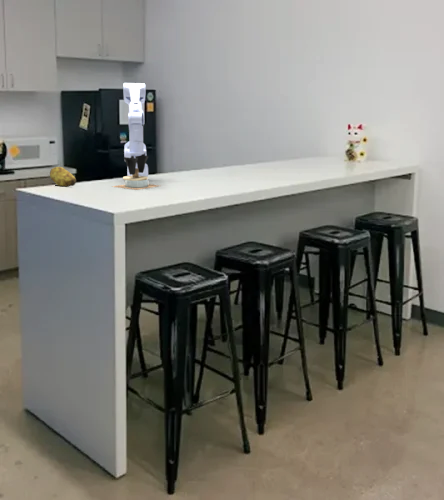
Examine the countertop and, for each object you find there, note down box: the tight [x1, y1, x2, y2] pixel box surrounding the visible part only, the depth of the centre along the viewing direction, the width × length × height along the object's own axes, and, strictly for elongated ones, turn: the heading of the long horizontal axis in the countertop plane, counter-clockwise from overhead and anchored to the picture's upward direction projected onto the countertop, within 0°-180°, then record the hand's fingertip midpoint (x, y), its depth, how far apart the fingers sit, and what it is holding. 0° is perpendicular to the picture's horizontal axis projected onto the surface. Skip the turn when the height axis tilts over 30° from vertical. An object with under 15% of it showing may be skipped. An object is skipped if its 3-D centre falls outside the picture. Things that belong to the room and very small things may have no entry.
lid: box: [122, 168, 149, 181], centre depth 267 cm, size 10×10×4 cm
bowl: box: [124, 179, 149, 188], centre depth 267 cm, size 10×10×3 cm
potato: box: [49, 166, 77, 187], centre depth 269 cm, size 8×13×8 cm, turn 37°
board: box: [111, 183, 160, 191], centre depth 268 cm, size 16×14×1 cm
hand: (136, 173), depth 267 cm, fingers open, 7 cm apart
